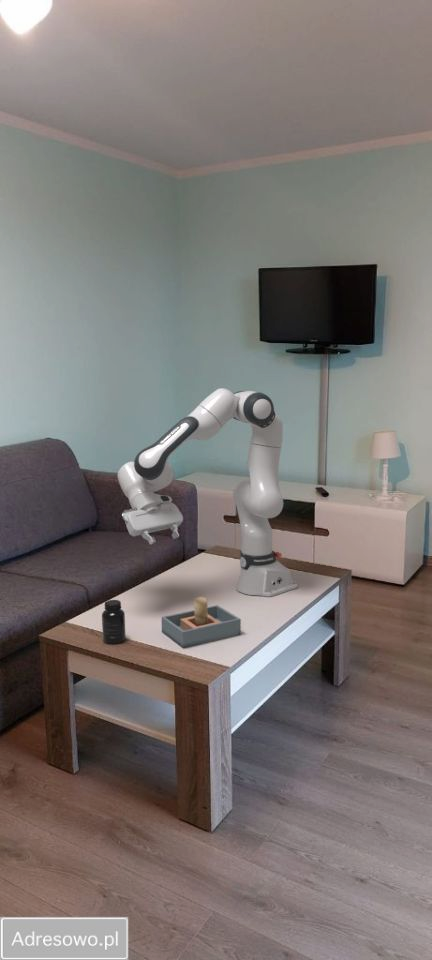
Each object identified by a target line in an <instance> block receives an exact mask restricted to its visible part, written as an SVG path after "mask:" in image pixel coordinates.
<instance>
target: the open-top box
mask: <svg viewBox="0 0 432 960" xmlns="http://www.w3.org/2000/svg"><path fill="white" fill-rule="evenodd" d="M207 610H208V624H206V625H202V626H195V615H194V609H192V610H188V611H184V612H183V611H182V612H179V613H173V614H169V615H164V616H161V633H162V634H163V635H165V636H166V637H168V638H169V639H170V640H171V641H173V642H174V643H176V644H177V645H178V646H179V647H180V648H181V649H185V648H191V647H194V646H198V645H203V644H206V643H210V642H215V641H219V640H222V639H226V638H227V639H228V638H232V637H235V636H240V635H241V621H242V620H241V618H240V617H238V616H236V615H235V614H233V613H231V612H230V611H228V610H226V609H225V608H223V607H221V606H220V605H219V604H216V605H212V606H207Z"/></svg>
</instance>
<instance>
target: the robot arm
mask: <svg viewBox="0 0 432 960" xmlns="http://www.w3.org/2000/svg"><path fill="white" fill-rule="evenodd" d="M232 419H234V420H236V421H240V422H242V423H245V424H249V425H250V426H251V436H250V437H251V438H250V444H249V449H248V455H247V456H248V457H247V463H246V465H247V469H248V472H249V480H243V481H242V480H241V481H239V482H238V483H236V485H235V486H234V488H233V490H232V499H233V501H234V503H235V507H236V509H237V510H236V511H237V514H238V515H237V516H238V519H239V520H238V521H239V524H240V533H241V535H240V537H241V539H240V540H241V548H240V549H241V550H240V551H239V553H240V554H239V563H240V564H239V565H240V572H239V579H238V584H237V587H236V590H237V591H238V592H239V593H241V594H245V595H249V596H263V597H267V598H268V597H269V598H270V597H271V598H272V597H275V596H278V595H280V594H283V593H286V592H289V591H292V590H295V589H298V583H297V582H296V581H295V580H293V579H292V574H291V571H290V570H289V568H287V567H286V566H284V565H283V564H282V563H281V562H279V561H278V560H277V559H281V558H282V553H281V552H279V551H274V550H273V529H272V527H271V525H270V522H269V519H273V518H276V517H278V516H279V515H280V513H281V512H282V510H283V508H284V499H283V497H282V494H281V492H280V483H279V481H280V480H279V465H280V458H281V453H282V446H283V436H284V435H283V433H284V431H283V430H284V427H283V424H284V423H283V419H281V418H280V416H278V415H277V414H276V412H275V407H274V403H273V401H272V399H271V398H270V397H269V395H267V394H266V393H263V392H259V391H254V390H246V391H245V390H240V391H236V392H232V391H231V390H230V389H227V388H225V387H224V388H221V387H220V388H217V389H216V390H214V391H213V392H212V393H210V394H209V395H208V396H207V397H205V399H203V400H202V401H201V402H200V403H199V404H198V405H197V406H196V407H195V409H193V411H192V412H191V413H189V414H188V415H187V416H185V417H183V418H182V419H180V420H179V421H178V422H177V423H176V424H175V425H173V426H172V427H171V428H170V429H169V430H167V432H166V433H164V434H163V435H162V436H161V437H160V438H158V440H157V441H155V442H154V443H151V445H149V446H147V447H145V448H143V449H140V451H139V452H138V453H137V454H136V455H135V457H134V461H129V462H126V463H124V464H123V465H122V466H121V467H120V468H119V469H118V471H117V480H118V484H119V486H120V489H121V490H122V492H123V494H124V496H126V498H127V499H128V502H129V505H130V507H131V508H130V509H125V510H123V511H122V513H121V517H122V519H123V520H124V522H125V525H126V529H127V531H128V533H129V535H130V536H132V537H137V536H141V537H142V538H143V539H144V540H146V541H148V543H149V545H155V543H156V542H157V541H156V538H155V537H154V536H151V535H150V533H154V532H159V531H164V530H167V529H170V530H171V531H172V534H171V537H172V539H173V540H174V539H175V540H176V539H178V538H179V536H180V533H179V532H178V527H179V526H181V524H182V523H183V521H184V516H183V513H182V512H181V511H180V509H179V508H178V506H177V505H176V503H173V502H172V501H173V498H172V496H170V495H162V494H158V493H156V492H158V491H161V490H163V489H165V488H168V487H169V486H170V485H171V484H172V483H173V481H174V478H175V472H174V469H173V467H172V466H171V464H170V463H169V462H168V459H169V458H170V456H171V455H172V454H173V453H174V452H176V451H177V449H179V448H180V447H181V446H182V445H183V444H185V443H186V442H187V441H190V440H198V441H209V440H210V439H212V438H213V437H215V436H216V435H217V434H218V433H220V431H221V430H222V428H224V427H225V425H226V424H227V423H228V422H229V421H230V420H232ZM276 558H277V559H276Z"/></svg>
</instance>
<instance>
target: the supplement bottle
mask: <svg viewBox="0 0 432 960" xmlns="http://www.w3.org/2000/svg"><path fill="white" fill-rule="evenodd" d="M101 622H102V623H101V624H102V625H101V626H102V627H101V628H102V629H101V630H102V641H103V642H104V643H106V644H108V645H117V644H121V643H123V642H124V641H126V615H125V611H124V610H123V609H122V602H121V600H118V599H109V600H107V601H105V602H104V611H102V614H101Z"/></svg>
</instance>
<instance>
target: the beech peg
mask: <svg viewBox="0 0 432 960" xmlns="http://www.w3.org/2000/svg"><path fill="white" fill-rule="evenodd" d="M193 600H194V602H193V603H194V604H193V605H194V607H193V610H194V615H195V626H202V625H206V624H208V610H207V607H208V598H207V597H205V596H204V597H203V596H199V597H198V596H197V597H195V598H194V599H193Z"/></svg>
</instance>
